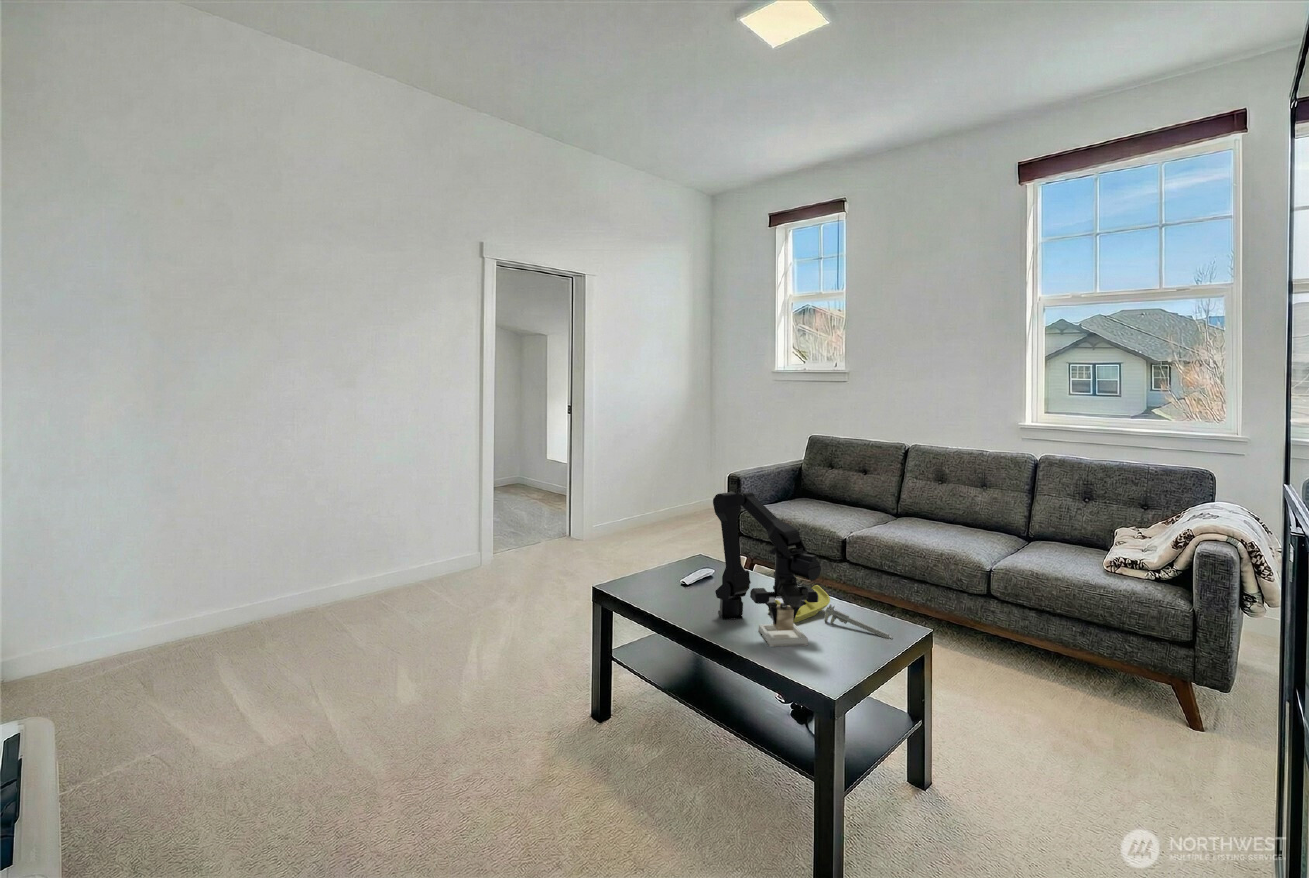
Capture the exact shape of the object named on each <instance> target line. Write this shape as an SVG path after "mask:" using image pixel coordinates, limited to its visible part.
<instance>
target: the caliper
mask: <svg viewBox="0 0 1309 878" xmlns="http://www.w3.org/2000/svg"><path fill="white" fill-rule="evenodd" d="M830 616H831V619H830V625H833V624H834V622H835V621H836V619H837V620H839V622H840V623H844V624H845V625H846V624H847V623H848V624H849V623H850V624H852V625H853V626H856V627H858V628H861V629H863V630H865V631H867V632H869V633H873V634H875V635H877V636H879V637H881V636H882V637H881V638H884V637H885V639H889V638H893V639H894V637H893V636H892V635H890V634H889V632H886V631H884V630H881V629H879V628H877V627H874V626H872V625H870V624H867V623H865V622H862V621H860V620H858V619H855V618H853V617H851V616H850V615H849V614H847V613H845V612H842V611H840V610H838V609H835V605H833V606H832V604H831V603H829V606H826V610H825V611H824V622H825V623H827V622H828V620H829V617H830Z"/></svg>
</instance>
